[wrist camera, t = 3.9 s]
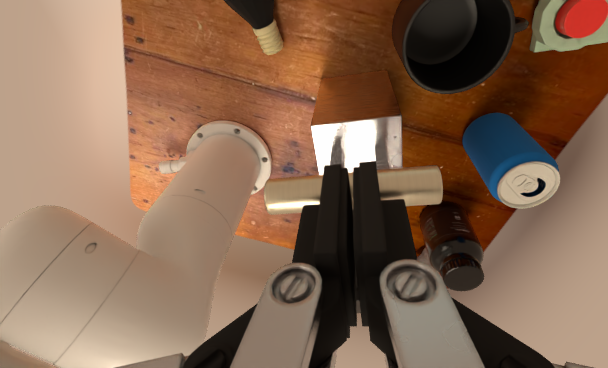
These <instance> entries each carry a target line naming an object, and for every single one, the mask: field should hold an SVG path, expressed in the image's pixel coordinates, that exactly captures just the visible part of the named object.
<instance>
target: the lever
mask: <svg viewBox="0 0 608 368" xmlns="http://www.w3.org/2000/svg"><path fill="white" fill-rule="evenodd" d="M377 174H378V182H379V190H380V199H381V200H394V199H404V201H405V205H406V206H416V205H432V204H440V203H441V201H442V197H443V184H442V177H441V172H440V170H439V167H438V166H436V165H432V166H420V167H408V168H396V169H384V170H377ZM322 179H323V175H313V176H301V177H289V178H277V179H268V180H267V181H266V183H265V187H264V201H265V206H266V209H267V212H268V213H269V214H271V215H274V214H290V213H302V208H303V206H304V205H315V204H319V203H320V195H321V187H322ZM349 182H350V191H351V200H352V209H353V172H349ZM356 308H357V313H361V310H360V301H359V293H358V285H357V277H356Z"/></svg>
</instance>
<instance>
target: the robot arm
mask: <svg viewBox="0 0 608 368" xmlns="http://www.w3.org/2000/svg"><path fill="white" fill-rule="evenodd" d="M238 129H239V130H238ZM201 133H202V134H201ZM265 157H266V158H265ZM159 170H160V172H161V173H162V174H169V173H175V172H178V173H177V174H176V175H175V177H174V178H173V179H172V180H171V182H170V183H169V184H168V186H167V187H166V188H165V189H164V191H163V192H162V193H161V195H160V196H159V197H158V198H157V200H156V201H155V202H154V203H153V205H152V206H151V207H150V209H149V210H148V211H147V213H146V214H145V216H144V217H143V219H142V221H141V224H140V227H139V230H138V235H137V246H136V248H134V247H133V246H131V245H130V244H128V243H126V242H125V241H123V240H121V239H120V238H118V237H116V236H114V235H113V234H111V233H109V232H108V231H106V230H104V229H103V228H101V227H99V226H98V225H96V224H94V223H93V222H91V221H89V220H88V219H86V218H84V217H82V216H80V215H79V214H77V213H75V212H73V211H70V210H68V209H65V208H62V207H58V206H40V207H36V208H33V209H31V210H28V211H26V212H24V213H22V214H21V215H19V216H17V217H16V218H14V219H13V220H12V221H11V222H9V223H8V224H7V225H6V226H5V227H3V228H2V229H1V230H0V368H57V367H55V366H53V365H50V364H48V363H46V362H44V361H41V360H39V359H37V358H35V357H32V356H30V355H28V354H26V353H24V352H21V351H19V350H17V349H15V348H12V347H11V346H9V344H11V345H13V346H15V347H18V348H20V349H23V350H25V351H27V352H30V353H31V354H34V355H36V356H38V357H41V358H43V359H45V360H47V361H50V362H52V363H53V364H54V365H56V366H58V367H60V368H334V367H335V362H336V350H337V349H338V348H339V347H340V346H341V345H342V344H343V343H344V342H345V341H346V340H347V338H350V326H357V308H356V277H357V285H358V293H359V301H360V310H361V318H362V326H369V332H370V341H371V342H372V343H373V344H375V345H376V346H377V347H378V348H379V349H380V350H381V351H382V352H383V353H384V354H385V362H386V366H387V368H593V367H588V366H583V365H579V364H575V363H570V362H566V363H565V366H561V365H557V364H552V363H551V362H550V361H548V360H547V359H546V358H545V357H543V356H542V355H541V354H539V353H538V352H536V351H535V350H533V349H532V348H530V347H529V346H527V345H525V344H524V343H522V342H521V341H519V340H517V339H516V338H514V337H513V336H511V335H510V334H508V333H507V332H505V331H503V330H502V329H500V328H499V327H497V326H495V325H494V324H492V323H491V322H489V321H488V320H486V319H484V318H483V317H481V316H480V315H478V314H477V313H475V312H473V311H472V310H470V309H469V308H467V307H465V306H464V305H463V304H461V303H459V302H458V301H456V300H455V299H453V298H452V297H451V296H450V294H449V292H448V290H447V288H446V286H445V284H444V281H443V279H442V277H441V276H440V275H439V273H438V272H437V271H436V270H435V269H434V268H433V267H431V266H430V265H428V264H426V263H424V262H422V261H418V260H417V256H416V251H415V247H414V242H413V237H412V233H411V228H410V223H409V219H408V214H407V210H406V205H405V201H404V199H394V200H381V199H380V190H379V182H378V174H377V165H376V161H369V162H359V167H353V209H352V200H351V191H350V182H349V173H348V168H342V166H341V164H334V165H324V171H323V179H322V187H321V195H320V203H319V204H315V205H304V206H303V208H302V213H301V218H300V223H299V229H298V234H297V239H296V245H295V250H294V255H293V260H292V263H291V264H287V265H284V266H283V267H280V268H279V269H277V270H276V271H275V272H274V273H273V274H272V275H271V276H270V278H269V279H268V281H267V283H266V285H265V288H264V290H263V292H262V295H261V297H260V299H259V301H258V304H256V305H255V306H254V307H252V308H251V309H249V310H248V311H247V312H245V313H244V314H243V315H241V316H240V317H238V318H237V319H236V320H234V321H233V322H232V323H230V324H229V325H228V326H226V327H225V328H223V329H222V330H221V331H219V332H218V333H217V334H215V335H214V336H212V337H211V338H210V339H208V340H207V341H206V342H204V343H203V341H204V339H205V336H206V332H207V327H208V323H209V319H210V313H211V306H212V301H213V296H214V291H215V287H216V283H217V280H218V277H219V273H220V271H221V268H222V265H223V262H224V259H225V257H226V255H227V252H228V250H229V247H230V245H231V242H232V240H233V237H234V235H235V232H236V230H237V227H238V225H239V222H240V220H241V218H242V215H243V213H244V210H245V208H246V205H247V203H248V200H249V198H250V195H252V194H254V193H256V192H258V191H259V190H261V189H262V188H263V187H264V186H265V183H266V181H267V180H268V179H269V177H270V174H271V170H272V159H271V154H270V152H269V149H268V147H267V145H266V144H265V142H264V141H263V140H262V139H261V137H260V136H259V135H258V134H257V133H255V132H254V131H253V130H251V129H250V128H248V127H246V126H244V125H242V124H239V123H236V122H232V121H226V120H224V121H213V122H209V123H207V124H205V125H203V126H201V127H200V128H199V129H197V130H196V132H195V133H194V134H193V135H192V137H191V138H190V140H189V142H188V145H187V153H186V156H185V157H180V158H179V160H167V161H161V162H160V163H159ZM8 343H9V344H8Z"/></svg>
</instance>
